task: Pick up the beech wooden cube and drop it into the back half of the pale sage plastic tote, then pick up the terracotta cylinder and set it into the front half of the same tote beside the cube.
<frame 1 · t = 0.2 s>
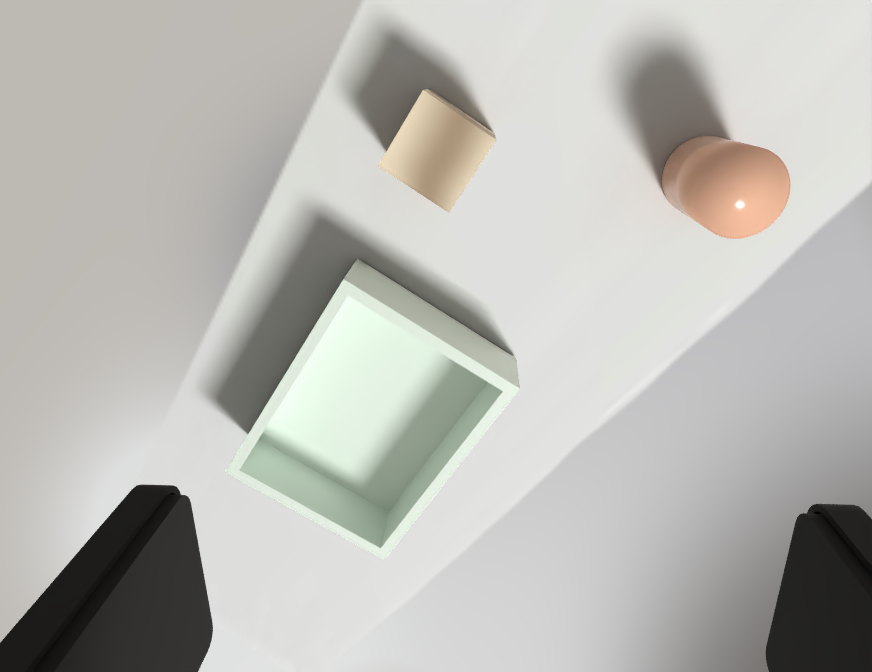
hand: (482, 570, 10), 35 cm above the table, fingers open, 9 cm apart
tote: (376, 399, 49), on the table
wooden cube: (441, 145, 42), on the table
terracotta cylinder: (701, 175, 42), on the table
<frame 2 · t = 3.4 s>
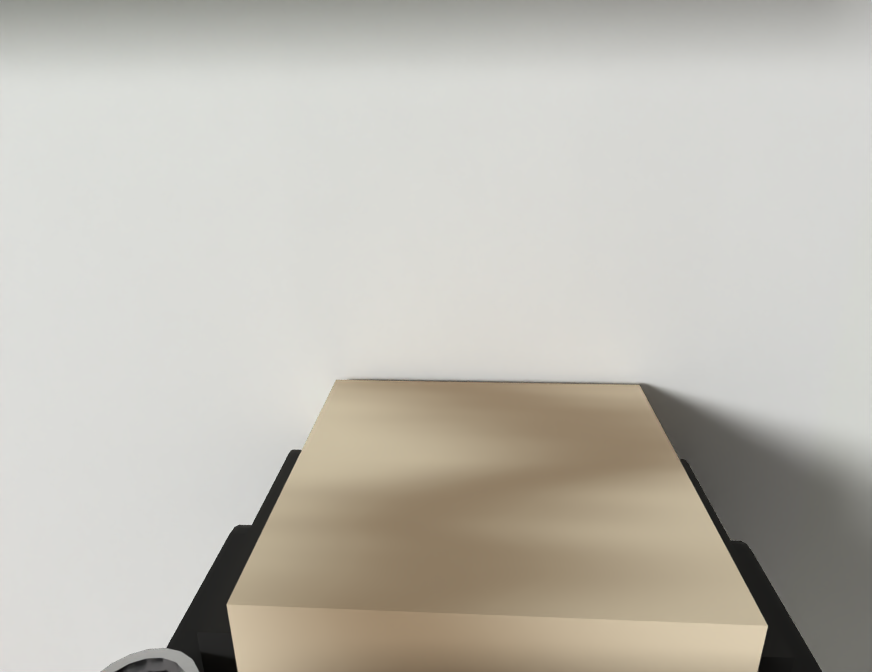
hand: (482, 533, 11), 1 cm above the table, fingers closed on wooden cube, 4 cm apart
wooden cube: (483, 508, 11), on the table, touching gripper
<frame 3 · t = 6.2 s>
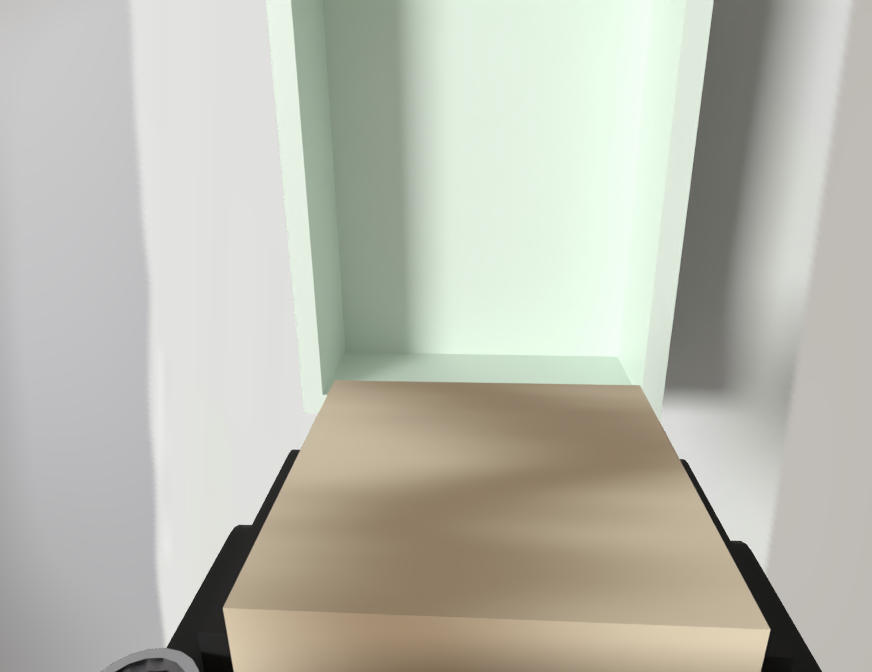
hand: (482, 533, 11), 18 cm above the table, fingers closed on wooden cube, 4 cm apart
tote: (482, 166, 26), on the table
wooden cube: (482, 509, 11), point 17 cm above the table, touching gripper
when the fingers open (4 cm above the table, at t = 9.2 s): wooden cube drops 3 cm, resting on tote.
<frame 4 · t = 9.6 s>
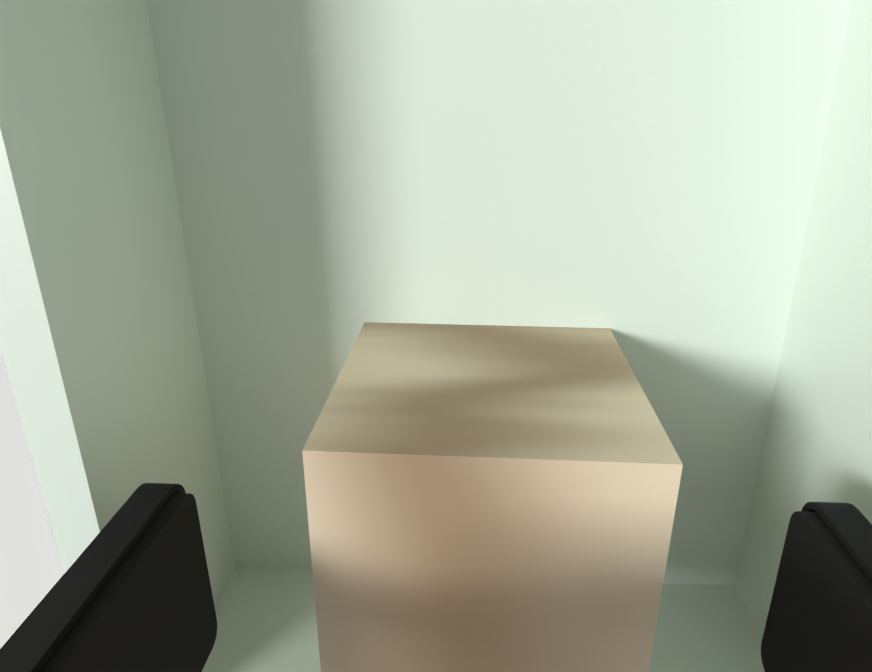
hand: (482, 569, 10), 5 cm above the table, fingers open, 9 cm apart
tote: (484, 244, 13), on the table
wooden cube: (482, 432, 14), point 1 cm above the table, touching tote
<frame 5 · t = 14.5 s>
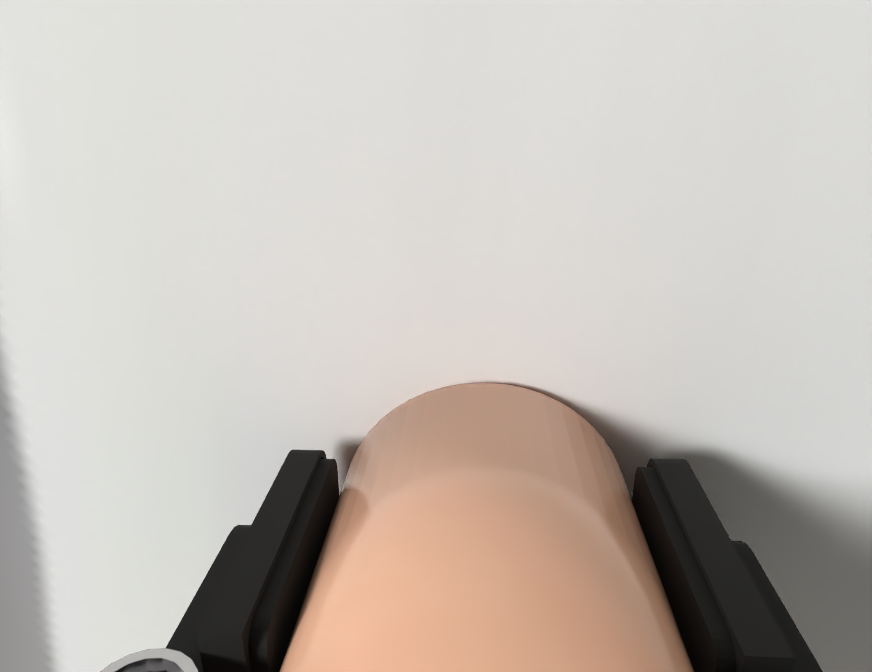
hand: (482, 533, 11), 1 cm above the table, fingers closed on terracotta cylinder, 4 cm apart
terracotta cylinder: (482, 509, 11), on the table, touching gripper
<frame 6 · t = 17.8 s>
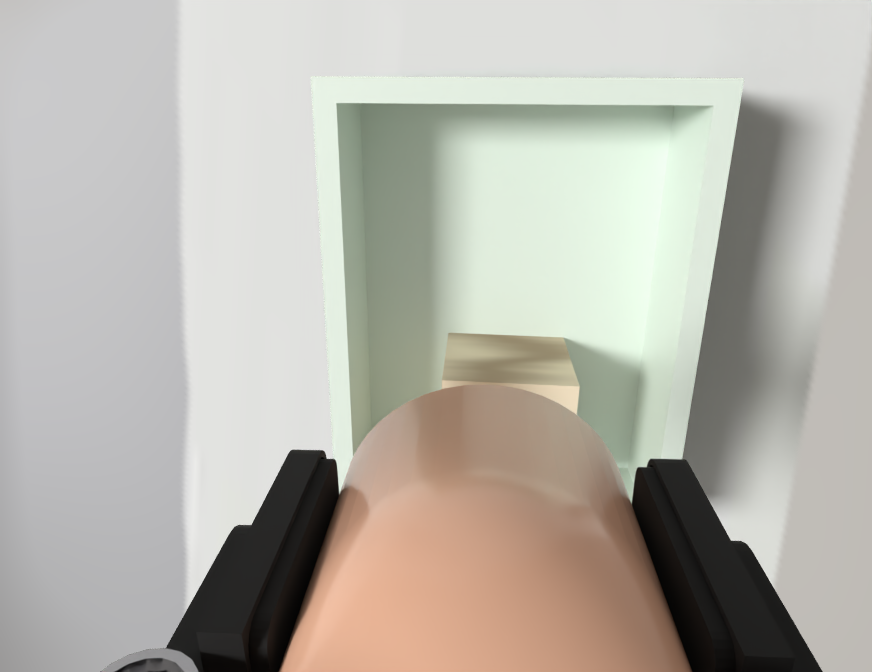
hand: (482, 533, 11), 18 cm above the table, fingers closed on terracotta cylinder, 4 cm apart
tote: (505, 297, 28), on the table
wooden cube: (502, 386, 29), point 1 cm above the table, touching tote
terracotta cylinder: (482, 511, 11), point 17 cm above the table, touching gripper
when the fingers open (4 cm above the table, at t = 21.1 s): terracotta cylinder drops 2 cm, resting on tote.
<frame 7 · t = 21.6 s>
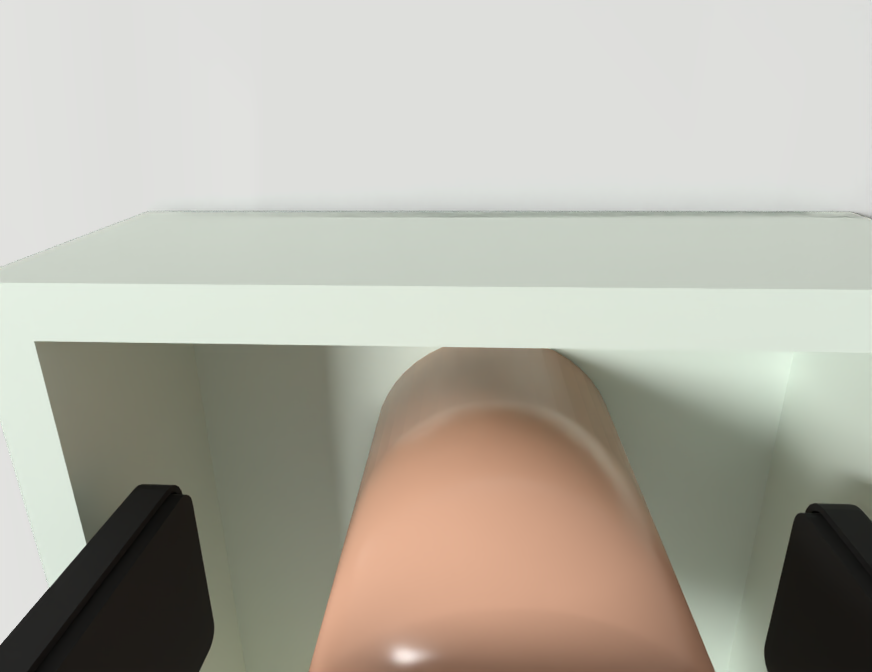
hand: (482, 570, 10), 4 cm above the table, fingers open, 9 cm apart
tote: (480, 572, 16), on the table
terracotta cylinder: (492, 445, 14), point 1 cm above the table, touching tote
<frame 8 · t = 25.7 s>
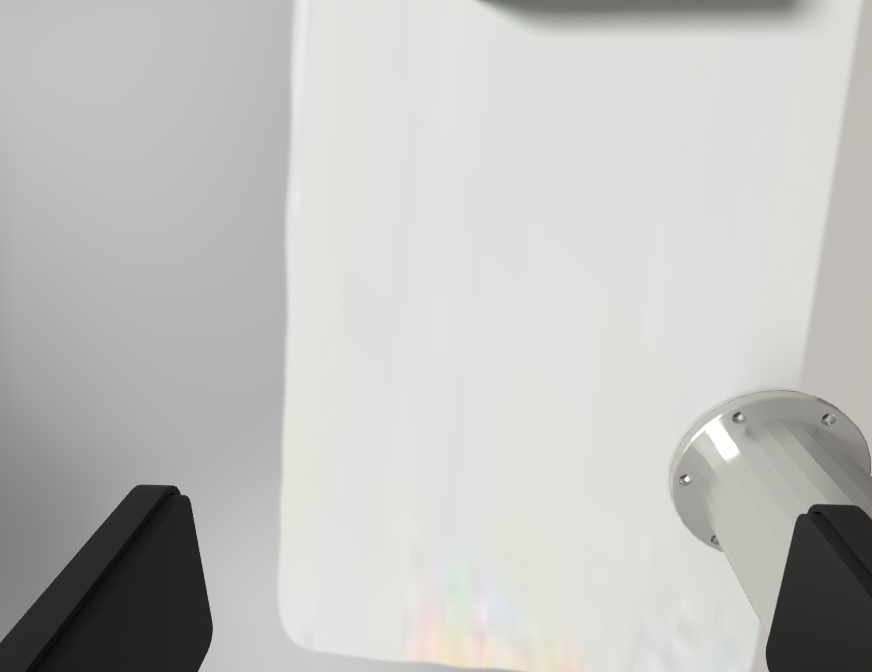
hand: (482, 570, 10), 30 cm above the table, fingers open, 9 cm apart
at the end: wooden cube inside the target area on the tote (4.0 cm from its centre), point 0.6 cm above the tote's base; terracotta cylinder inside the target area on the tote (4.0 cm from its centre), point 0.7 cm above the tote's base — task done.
